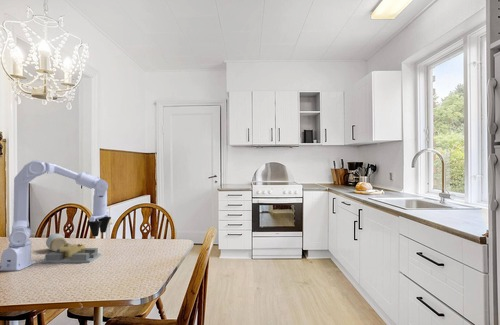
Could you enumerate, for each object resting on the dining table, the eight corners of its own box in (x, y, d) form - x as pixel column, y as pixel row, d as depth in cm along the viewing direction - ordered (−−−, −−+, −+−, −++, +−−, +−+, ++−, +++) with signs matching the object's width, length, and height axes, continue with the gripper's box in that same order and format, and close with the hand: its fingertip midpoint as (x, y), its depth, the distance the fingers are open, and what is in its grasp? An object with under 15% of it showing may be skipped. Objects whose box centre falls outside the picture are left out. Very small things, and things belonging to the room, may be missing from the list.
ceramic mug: (49, 254, 130) (50, 237, 130) (45, 250, 136) (46, 234, 136) (75, 249, 138) (75, 234, 138) (70, 246, 143) (71, 231, 144)
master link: (80, 258, 122) (80, 245, 122) (59, 258, 121) (59, 245, 121) (84, 255, 125) (85, 243, 125) (64, 255, 125) (64, 243, 125)
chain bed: (89, 262, 119) (89, 254, 119) (41, 262, 118) (41, 254, 118) (100, 255, 129) (101, 248, 129) (56, 255, 128) (56, 248, 128)
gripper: (101, 207, 122) (100, 238, 122) (115, 203, 137) (114, 230, 137) (85, 207, 122) (84, 238, 122) (100, 203, 137) (100, 230, 136)
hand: (99, 234), depth 129 cm, fingers open, 7 cm apart
